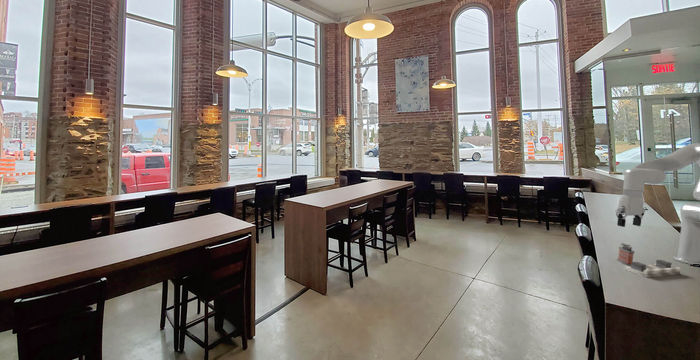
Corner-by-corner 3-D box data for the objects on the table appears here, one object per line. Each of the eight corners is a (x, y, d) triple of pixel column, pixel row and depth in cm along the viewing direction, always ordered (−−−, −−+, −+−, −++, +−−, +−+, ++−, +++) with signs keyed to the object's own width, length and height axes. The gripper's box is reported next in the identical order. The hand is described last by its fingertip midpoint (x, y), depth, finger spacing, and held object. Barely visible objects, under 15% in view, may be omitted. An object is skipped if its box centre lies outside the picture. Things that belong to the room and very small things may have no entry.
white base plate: (656, 266, 144) (658, 258, 143) (680, 274, 135) (681, 265, 135) (624, 269, 141) (625, 260, 140) (646, 277, 132) (647, 268, 131)
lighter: (634, 266, 144) (636, 247, 143) (626, 265, 145) (629, 247, 144) (622, 260, 152) (624, 242, 151) (615, 259, 153) (617, 241, 152)
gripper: (638, 191, 150) (634, 223, 151) (610, 192, 147) (607, 224, 149) (655, 194, 142) (651, 227, 144) (627, 194, 139) (623, 228, 141)
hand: (628, 225), depth 146 cm, fingers open, 9 cm apart
